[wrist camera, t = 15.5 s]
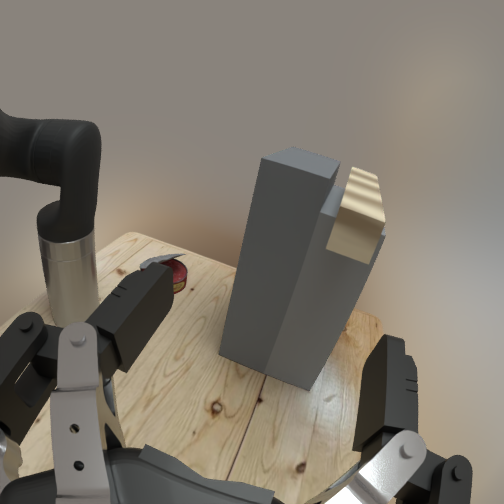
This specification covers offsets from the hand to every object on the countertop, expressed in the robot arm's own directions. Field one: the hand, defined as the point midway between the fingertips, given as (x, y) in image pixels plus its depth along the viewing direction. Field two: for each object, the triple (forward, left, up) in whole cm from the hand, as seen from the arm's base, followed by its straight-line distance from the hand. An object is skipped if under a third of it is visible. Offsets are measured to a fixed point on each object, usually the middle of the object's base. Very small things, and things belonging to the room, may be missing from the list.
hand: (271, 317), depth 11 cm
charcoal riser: (-17, +28, -32) cm, 46 cm away
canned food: (-42, +18, -32) cm, 56 cm away
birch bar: (-11, +26, -4) cm, 28 cm away
